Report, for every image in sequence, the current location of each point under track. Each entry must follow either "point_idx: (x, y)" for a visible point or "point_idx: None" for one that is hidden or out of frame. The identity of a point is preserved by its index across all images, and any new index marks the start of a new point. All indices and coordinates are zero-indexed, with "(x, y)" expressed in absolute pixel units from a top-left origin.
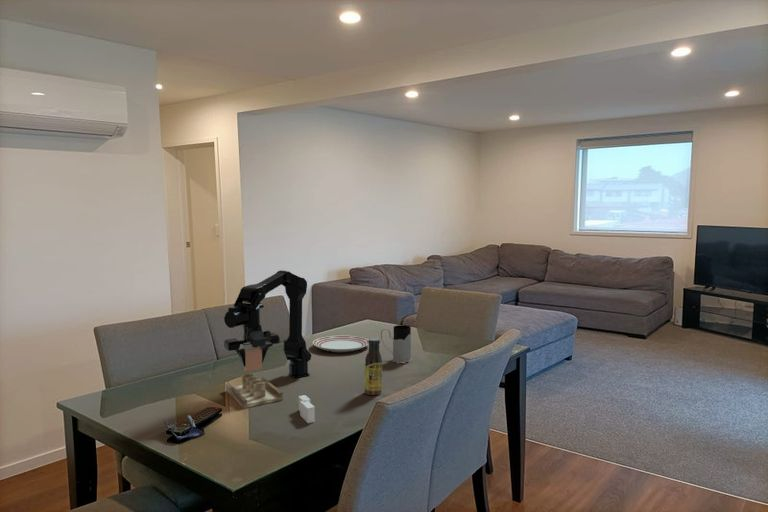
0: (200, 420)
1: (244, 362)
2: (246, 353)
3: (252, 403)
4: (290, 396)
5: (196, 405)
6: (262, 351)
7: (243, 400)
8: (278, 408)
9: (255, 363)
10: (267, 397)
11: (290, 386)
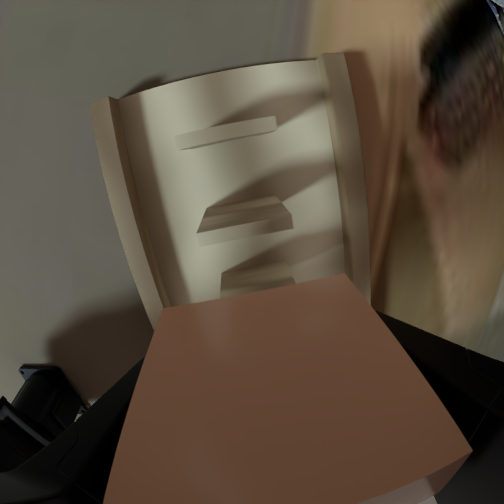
0: (477, 56)
1: (400, 332)
2: (439, 436)
3: (284, 63)
4: (67, 150)
5: (479, 213)
6: (105, 481)
7: (343, 55)
8: (157, 5)
9: (238, 337)
10: (183, 116)
11: (63, 291)
